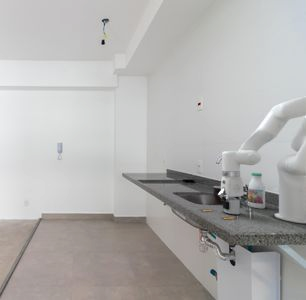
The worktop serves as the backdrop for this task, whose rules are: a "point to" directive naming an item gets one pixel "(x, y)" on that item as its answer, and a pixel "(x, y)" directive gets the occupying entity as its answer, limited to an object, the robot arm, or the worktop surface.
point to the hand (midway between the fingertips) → (232, 208)
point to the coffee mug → (216, 192)
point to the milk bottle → (256, 192)
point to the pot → (233, 206)
